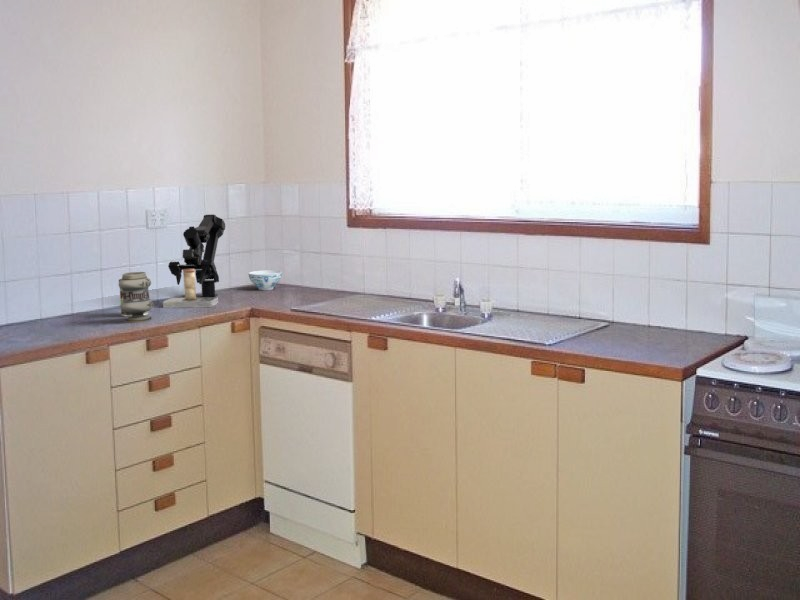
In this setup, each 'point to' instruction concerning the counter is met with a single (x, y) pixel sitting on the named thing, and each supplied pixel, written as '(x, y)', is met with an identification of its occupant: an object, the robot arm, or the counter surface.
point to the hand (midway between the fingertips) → (188, 283)
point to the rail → (190, 302)
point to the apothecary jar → (136, 296)
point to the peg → (189, 284)
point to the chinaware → (265, 278)
